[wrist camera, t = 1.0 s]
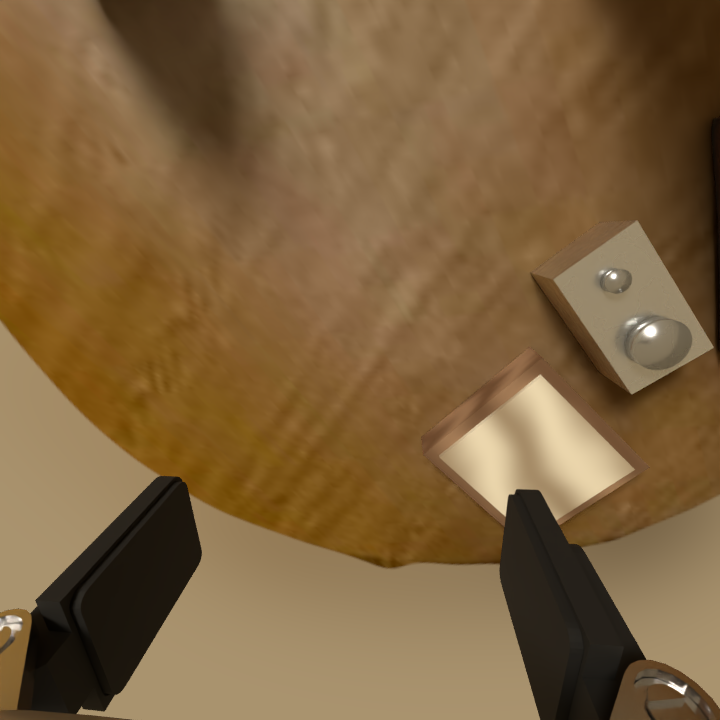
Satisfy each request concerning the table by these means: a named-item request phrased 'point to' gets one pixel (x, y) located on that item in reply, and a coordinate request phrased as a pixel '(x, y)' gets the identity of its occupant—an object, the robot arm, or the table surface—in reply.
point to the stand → (530, 443)
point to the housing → (622, 305)
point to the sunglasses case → (717, 183)
